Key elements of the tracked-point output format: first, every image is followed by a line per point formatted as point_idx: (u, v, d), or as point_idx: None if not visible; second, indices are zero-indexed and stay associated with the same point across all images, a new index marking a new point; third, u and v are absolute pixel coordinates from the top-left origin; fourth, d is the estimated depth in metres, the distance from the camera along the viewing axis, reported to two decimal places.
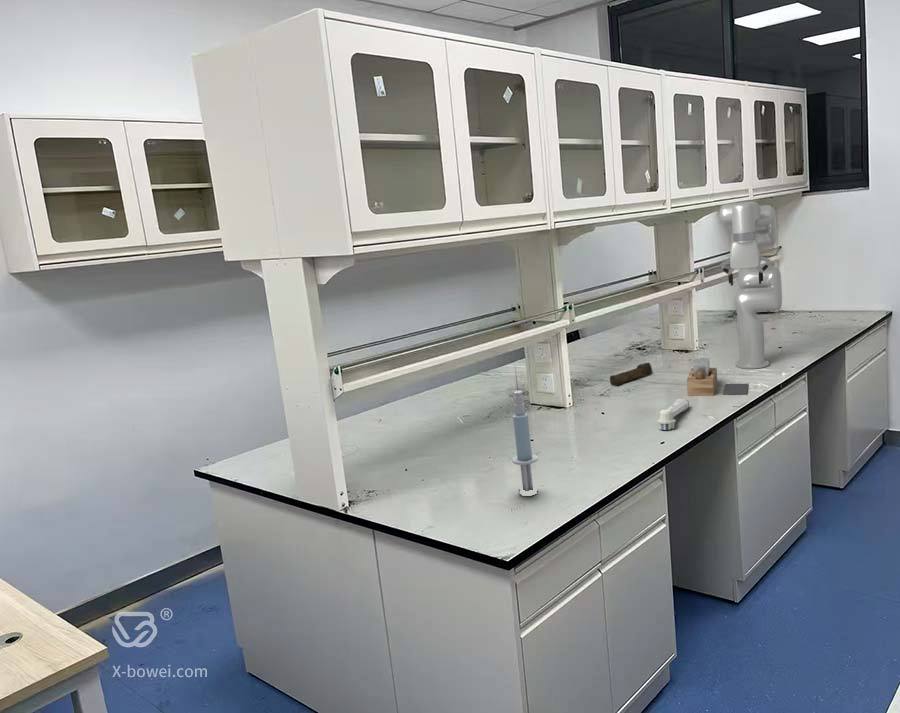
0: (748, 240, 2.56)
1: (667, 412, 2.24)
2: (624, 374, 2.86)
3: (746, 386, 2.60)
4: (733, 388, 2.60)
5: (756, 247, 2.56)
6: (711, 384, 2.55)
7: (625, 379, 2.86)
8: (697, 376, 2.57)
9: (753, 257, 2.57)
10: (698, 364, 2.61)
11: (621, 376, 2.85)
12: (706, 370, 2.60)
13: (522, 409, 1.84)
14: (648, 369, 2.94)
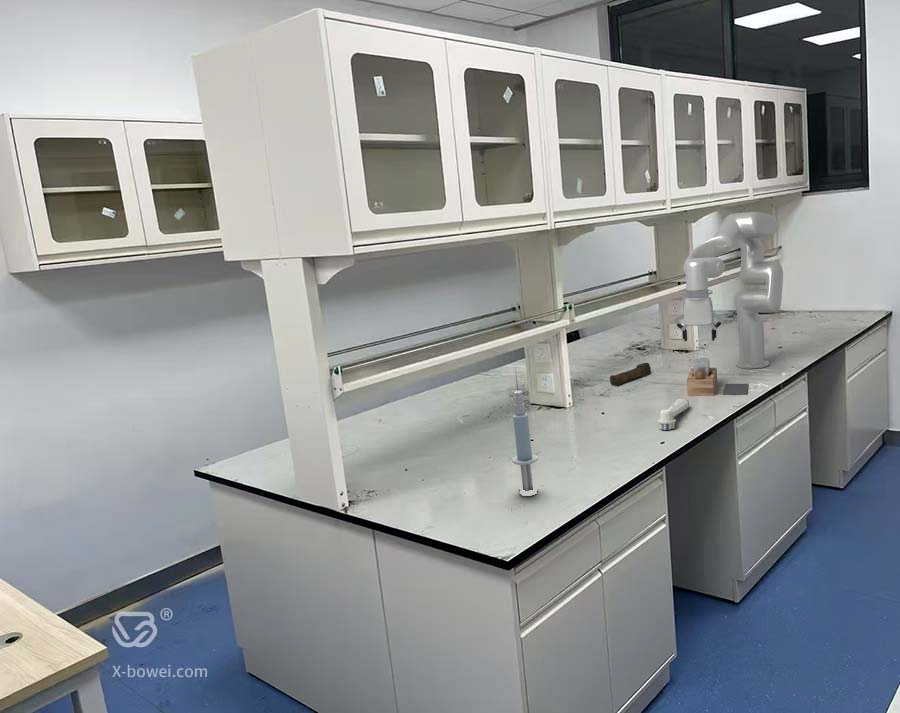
0: (701, 297, 2.55)
1: (667, 412, 2.24)
2: (624, 374, 2.87)
3: (746, 386, 2.60)
4: (733, 388, 2.60)
5: (709, 304, 2.56)
6: (711, 384, 2.55)
7: (625, 379, 2.86)
8: (697, 376, 2.57)
9: (706, 314, 2.57)
10: (698, 364, 2.61)
11: (621, 376, 2.85)
12: (706, 370, 2.60)
13: (522, 409, 1.84)
14: (647, 369, 2.95)
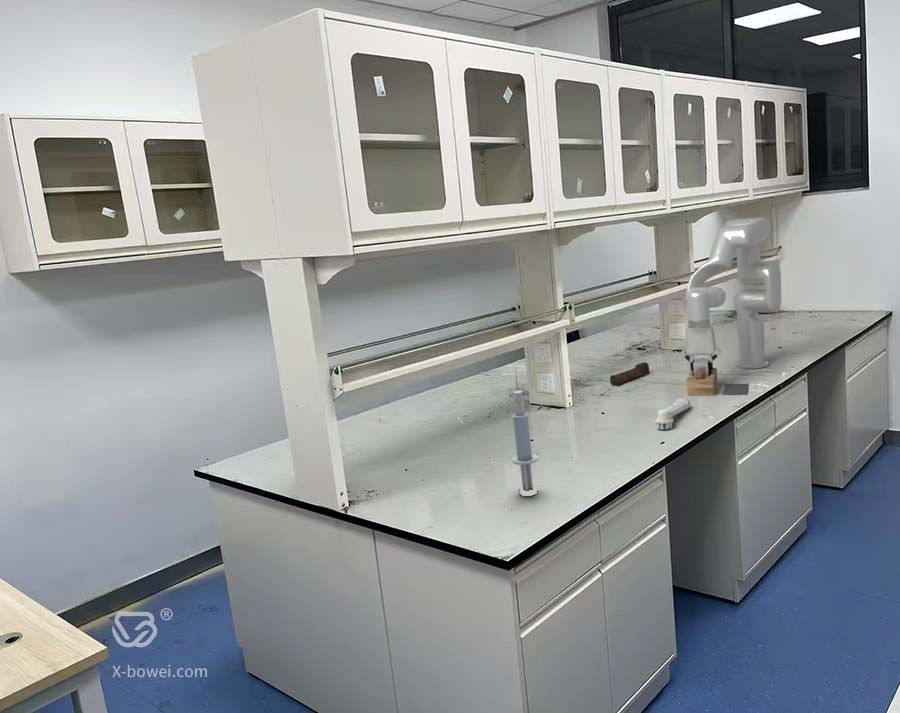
0: (703, 328, 2.57)
1: (665, 412, 2.25)
2: (624, 374, 2.87)
3: (746, 386, 2.60)
4: (733, 388, 2.60)
5: (711, 334, 2.58)
6: (711, 384, 2.55)
7: (625, 379, 2.86)
8: (697, 376, 2.57)
9: (708, 344, 2.59)
10: (698, 364, 2.61)
11: (621, 376, 2.85)
12: (706, 370, 2.60)
13: (522, 409, 1.84)
14: (646, 368, 2.95)
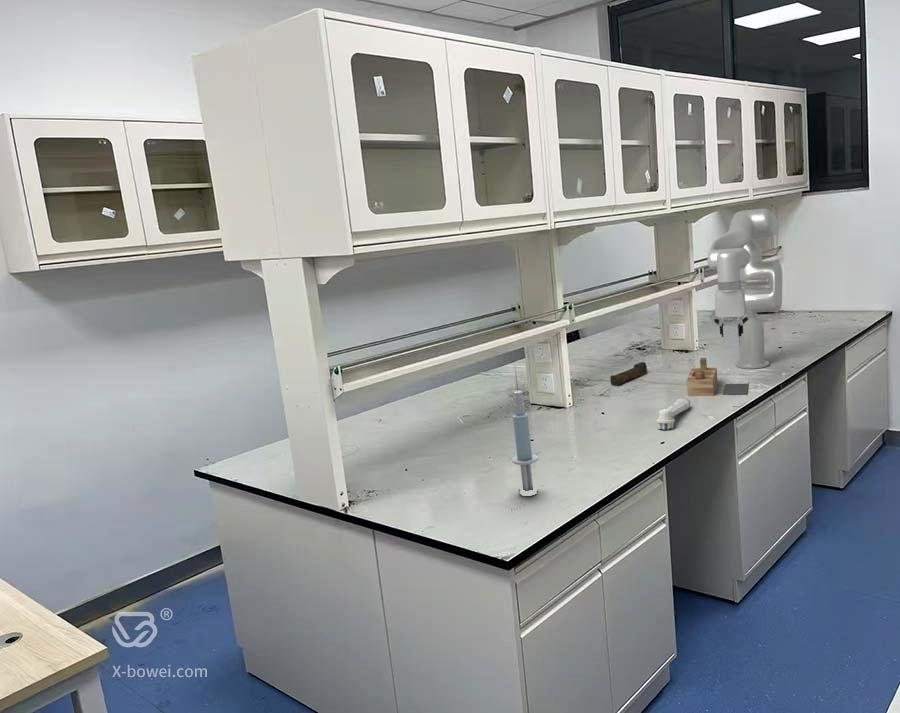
0: (733, 289, 2.49)
1: (666, 412, 2.25)
2: (624, 374, 2.87)
3: (746, 386, 2.60)
4: (733, 388, 2.60)
5: (741, 296, 2.50)
6: (711, 384, 2.55)
7: (625, 379, 2.87)
8: (697, 376, 2.57)
9: (739, 306, 2.51)
10: (728, 327, 2.53)
11: (622, 376, 2.85)
12: (736, 333, 2.52)
13: (522, 409, 1.84)
14: (644, 368, 2.96)
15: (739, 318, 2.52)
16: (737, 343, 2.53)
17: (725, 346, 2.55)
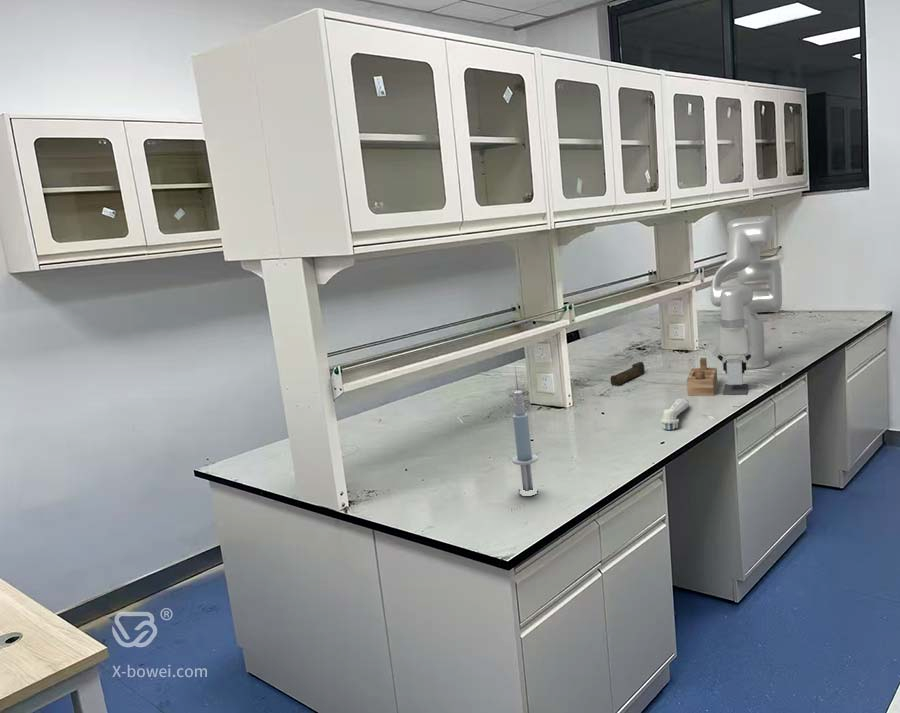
0: (737, 327, 2.51)
1: (671, 412, 2.24)
2: (624, 374, 2.87)
3: (746, 386, 2.60)
4: (733, 388, 2.60)
5: (745, 334, 2.52)
6: (711, 384, 2.55)
7: (625, 379, 2.87)
8: (697, 376, 2.57)
9: (742, 344, 2.53)
10: (731, 364, 2.55)
11: (622, 376, 2.86)
12: (740, 370, 2.54)
13: (522, 409, 1.84)
14: (642, 368, 2.97)
15: (742, 355, 2.55)
16: (740, 380, 2.55)
17: (729, 383, 2.57)
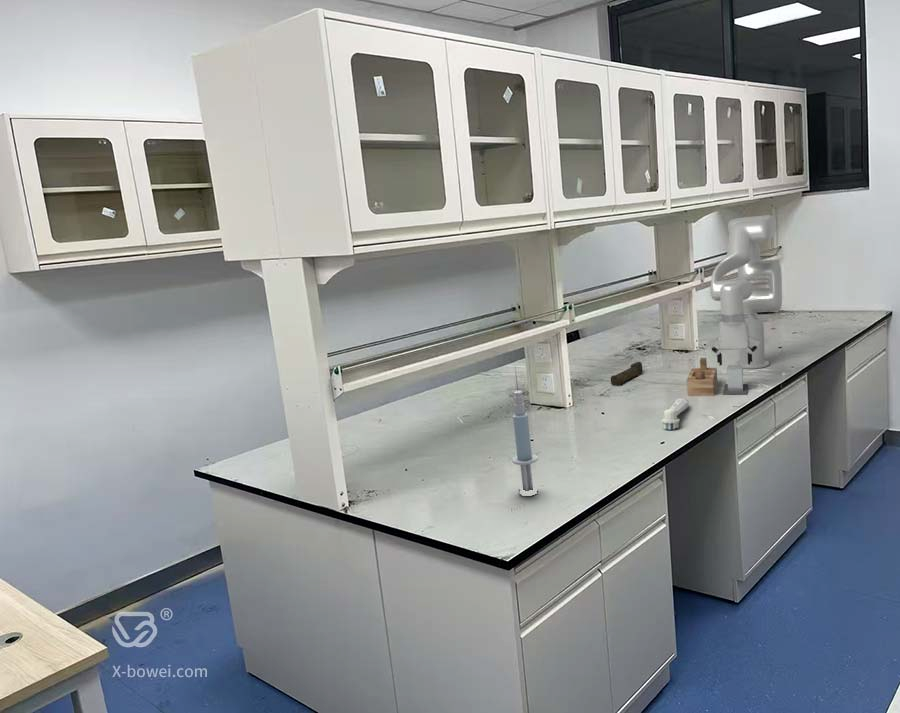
0: (736, 322, 2.51)
1: (672, 412, 2.24)
2: (624, 373, 2.87)
3: (746, 386, 2.60)
4: None
5: (745, 328, 2.52)
6: (711, 384, 2.55)
7: (625, 378, 2.87)
8: (697, 376, 2.57)
9: (742, 338, 2.53)
10: (732, 371, 2.55)
11: (622, 376, 2.86)
12: (740, 377, 2.55)
13: (522, 409, 1.84)
14: (640, 368, 2.98)
15: (746, 348, 2.54)
16: (741, 386, 2.55)
17: (729, 389, 2.57)
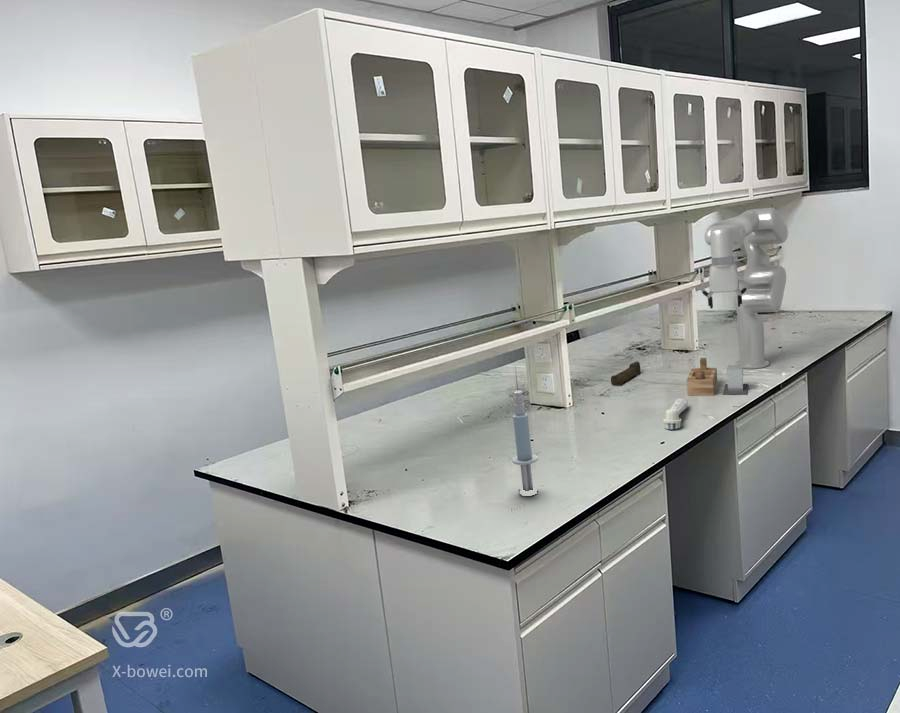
0: (726, 264, 2.58)
1: (674, 411, 2.24)
2: (624, 373, 2.87)
3: (746, 386, 2.60)
4: None
5: (734, 271, 2.59)
6: (711, 384, 2.55)
7: (625, 378, 2.87)
8: (697, 376, 2.57)
9: (732, 280, 2.60)
10: (732, 371, 2.55)
11: (622, 375, 2.86)
12: (740, 377, 2.55)
13: (522, 409, 1.84)
14: (639, 368, 2.98)
15: (736, 290, 2.61)
16: (741, 386, 2.55)
17: (729, 389, 2.57)
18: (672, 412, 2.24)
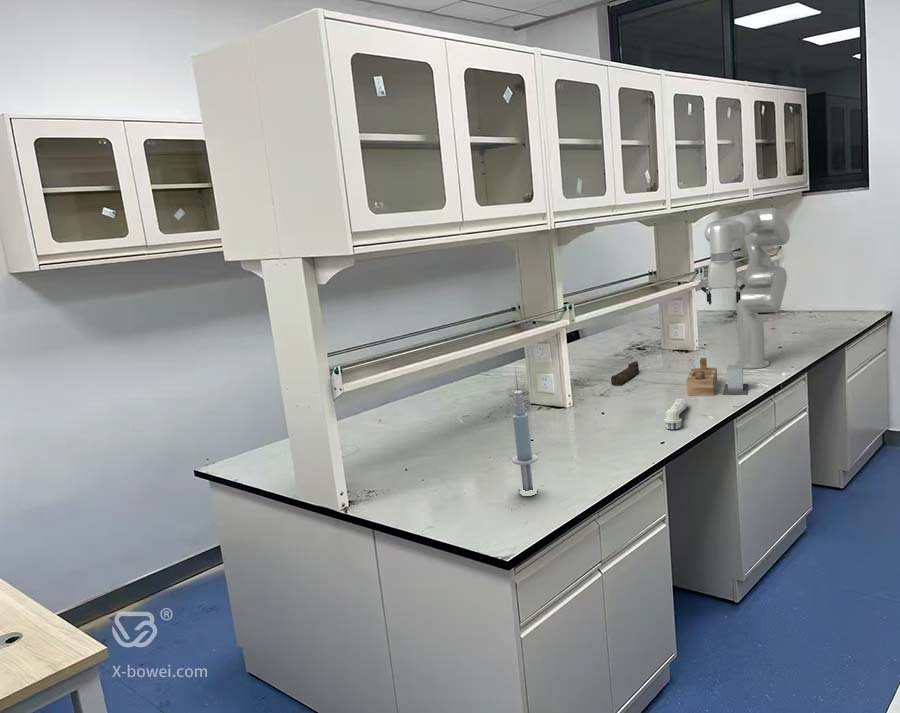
0: (725, 260, 2.59)
1: (674, 411, 2.24)
2: (624, 373, 2.87)
3: (746, 386, 2.60)
4: None
5: (733, 267, 2.60)
6: (711, 384, 2.55)
7: (625, 378, 2.87)
8: (697, 376, 2.57)
9: (730, 276, 2.61)
10: (732, 371, 2.55)
11: (622, 375, 2.86)
12: (740, 377, 2.55)
13: (522, 409, 1.84)
14: (637, 367, 2.99)
15: (734, 286, 2.62)
16: (741, 386, 2.55)
17: (729, 389, 2.57)
18: (672, 412, 2.24)
